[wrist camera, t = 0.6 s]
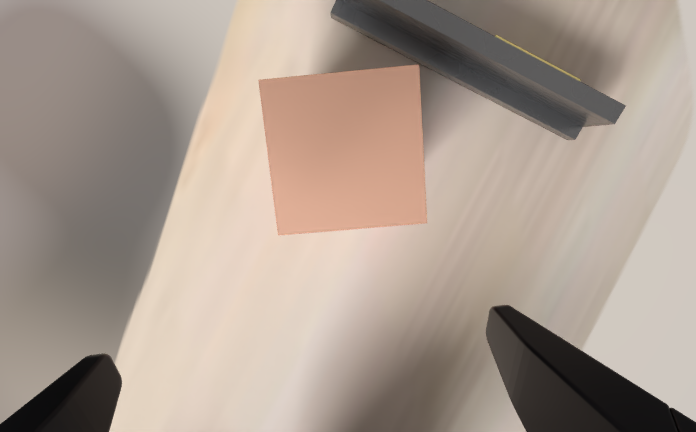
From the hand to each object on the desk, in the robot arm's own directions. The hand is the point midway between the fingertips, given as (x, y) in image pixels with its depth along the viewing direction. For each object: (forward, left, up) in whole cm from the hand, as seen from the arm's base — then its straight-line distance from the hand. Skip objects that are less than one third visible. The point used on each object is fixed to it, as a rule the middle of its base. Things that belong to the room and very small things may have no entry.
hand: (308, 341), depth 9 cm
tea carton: (+4, -1, -15) cm, 16 cm away
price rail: (+9, -8, -15) cm, 19 cm away
